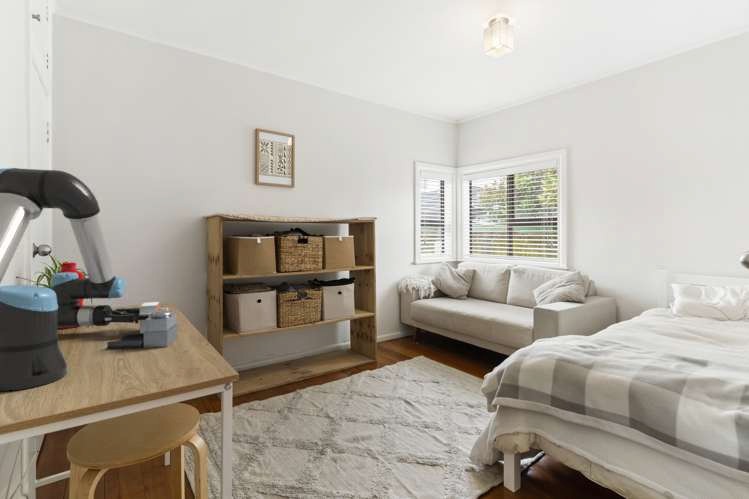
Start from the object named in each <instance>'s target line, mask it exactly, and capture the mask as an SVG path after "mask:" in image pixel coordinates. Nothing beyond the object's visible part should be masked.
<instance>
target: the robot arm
mask: <svg viewBox="0 0 749 499" xmlns="http://www.w3.org/2000/svg"><path fill="white" fill-rule="evenodd" d="M44 209H59V210H60V211H61V212H62V215H63V217H64V218H65V219H68V220H69V224H70V225H71V226H70V227H71V228H72V232H73V234H74V237H75V240H76V244H77V246H78V249H79V252H80V256H81V258H82V262H83V264H84V267H85V271H86V273H87V276H88V277H84V278H79V277H78V274H77V273H72V272H65V273H58V272H56V273H54V274H52V276H51V286H50V288H49V287H45V286H39V285H25V284H23V285H22V284H21V285H17V284H16V285H15V284H14V285H9V284H8V285H1V286H0V392H10V391H9V390H13V391H19V390H24V389H25V390H26V389H31V388H36V387H39V386H45V385H47V384H50V383H53V382H55V381H58V380H60V379H62V378H64V377H65V376H66V375H67V374H68V364H67V362H66V359H65V357H64V356H63V353H62V351H61V349H60V346H59V341H58V340H59V338H58V336H59V331H58V329H59V328H58V327H72V328H77V327H76V326H78V327H85V328H88V329H89V328H90V327H94V326H96V327H106V326H109V325H110V323H124V324H125V323H129V324H130V323H131V324H133V323H134V324H140V321H145V320H146V319H147V318H149V317H151V313H140V307H133V308H132V307H131V308H130V307H129V308H125V307H124V308H115V309H114V310H113V309H112V307H111V306H110V305H109V304H101V305H99V304H97V305H96V304H92V305H91V304H90V305H89V304H87V305H86V304H85V305H84V304H83V306H79V299H82V300H88V299H89V300H90V299H92V300H94V299H108V300H109V299H118V298H122V297H123V296H124V295H125V292H126V282H125V279H124V278H122V277H118V276H115V273H114V269H113V265H112V262H111V258H110V255H109V254H110V253H109V251H108V248H107V243H106V240H105V237H104V233H103V229H102V225H101V223H100V219H99V214H100V213H101V209H100V205H99V202H98V200H97V198H96V196H95V195H94V193H93V192H92V190H91V189H90V188H89V187H88V186H87V185H86V184H85V182H83V181H82V180H80V178H78V177H77V176H75V175H73V174H72V173H70V172H66V171H63V170H57V169H52V170H51V169H33V168H31V169H30V168H19V167H8V168H0V284H1V283H2V281H3V278H4V276H5V274H6V272H7V271H8V269H9V266H10V264H11V262H12V260H13V258H14V255H15V254H16V251H17V249H18V247H19V245H20V242H21V241H22V239H23V237H24V235H25V232H26V230H27V228H28V226H29V224H30V222H31V221H33V220H36V219H38V218H39V217H40V216H41V214H42V212H43V210H44ZM160 311H169V307H160Z"/></svg>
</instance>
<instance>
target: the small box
mask: <svg viewBox="0 0 749 499" xmlns="http://www.w3.org/2000/svg"><path fill="white" fill-rule="evenodd" d="M139 308H140V313H153V312H158V311H160V308H161V303H160V301H153V302H151V301H150V302H143V303H142V304H141V305H139ZM144 332H145V321H139V333H144Z"/></svg>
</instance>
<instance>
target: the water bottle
mask: <svg viewBox="0 0 749 499" xmlns="http://www.w3.org/2000/svg"><path fill="white" fill-rule="evenodd" d="M65 272H72V273H77V274H78V277H79V278H85V276H84V274H83V273H82V272H81V271H78V270H77V262H74V261H73V262H71V261H69V262H63V263H61V270H60V271H59V272H57V273H65ZM83 305H84V303H83V299H79V306H83ZM78 327H79V326H76V327H75V328H78ZM70 328H71V329H72V328H73V327H58V329H63V330H64V329H70Z"/></svg>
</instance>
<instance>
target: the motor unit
mask: <svg viewBox="0 0 749 499" xmlns="http://www.w3.org/2000/svg"><path fill="white" fill-rule="evenodd" d="M178 326H179V325H178V323H177V312H172V311H170V310H168V311H158V312H153V313H151V317H149V318H147V319H146V320H145V332H144V333H140V332H131V333H130V332H128V333H126V332H125V333H121V337H120V338H118V339H117V340H115V341H108V342H107V343H106V344H107V347H106V348H107V350H122V349H123V350H125V349H142V348H144V349H147V348H150V349H151V348H168V347H169V346H170V345H171V344H172V343H174V342H175V341H176V340H177V339H179V332H178V329H179V327H178ZM175 339H176V340H175Z"/></svg>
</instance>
